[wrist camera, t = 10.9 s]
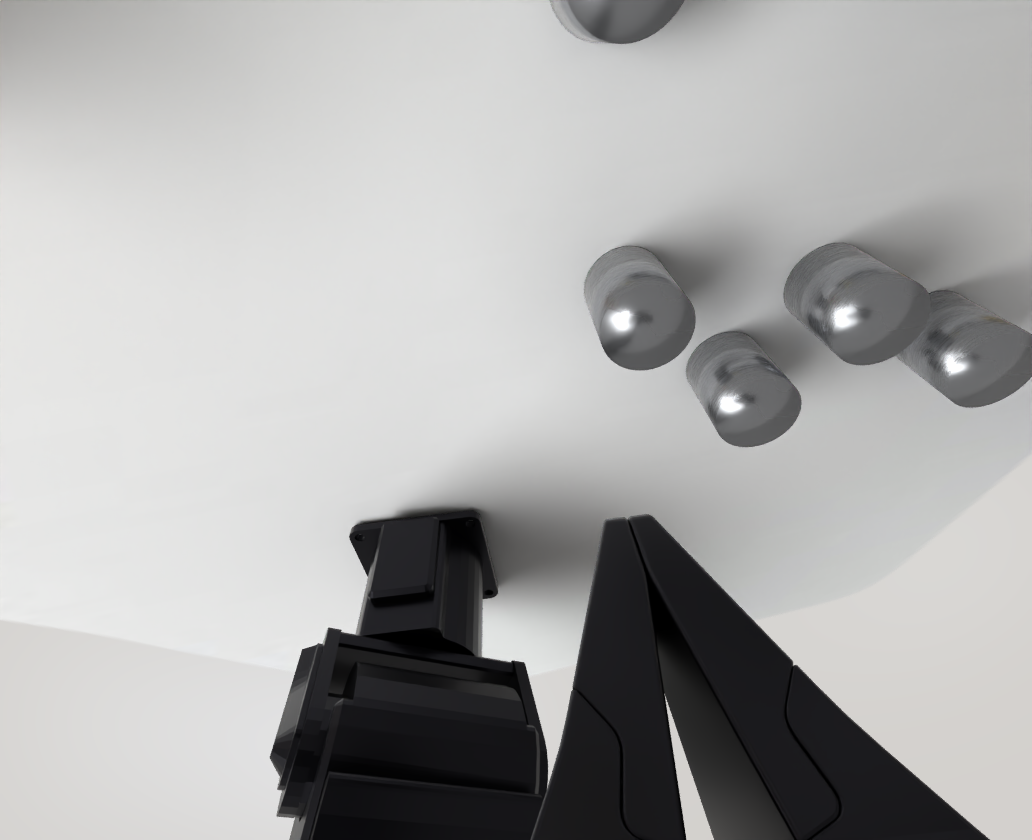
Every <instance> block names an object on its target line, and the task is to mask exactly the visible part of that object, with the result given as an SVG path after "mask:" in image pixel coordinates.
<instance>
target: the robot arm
mask: <svg viewBox="0 0 1032 840" xmlns="http://www.w3.org/2000/svg"><path fill="white" fill-rule="evenodd" d="M469 520H473V521H469ZM359 534H361V535H359ZM349 537H350V541H351V543H352V545H353V547H354V549H355V551H356V553H357V555H358V557H359V559H360V562H361V564H362V566H363V568H364V570H365V572H366V574H367V576H368V580H367V585H366V589H365V594H364V599H363V603H362V608H361V612H360V617H359V621H358V626H357V630H356V635H354V634H349V633H343V632H341V630H340V629H334V628H328V630H327V633H326V636H325V639H324V642H323V644H319V643H318V644H317V645H315V646H312V647H309V648H305V649H302V652H301V655H300V659H299V662H298V665H297V669H296V672H295V675H294V679H293V682H292V686H291V689H290V692H289V695H288V698H287V702H286V705H285V708H284V712H283V715H282V718H281V722H280V725H279V729H278V732H277V735H276V739H275V742H274V745H273V749H272V752H271V756H270V759H271V761H272V763H273V765H274V767H275V769H276V771H277V772H278V774H279V776H280V780H279V784H278V788H277V789H278V790H282V793H281V797H280V802H279V806H278V811H277V816H278V817H289V818H294V817H295V820H294V824H293V828H292V832H291V836H290V840H686V834H685V828H684V821H683V814H682V808H681V801H680V794H679V788H678V781H677V774H676V768H675V761H674V754H673V748H672V741H671V735H670V728H669V721H668V714H667V708H666V701H665V696H666V699H667V702H668V705H669V707H670V711H671V713H672V717H673V719H674V722H675V725H676V728H677V731H678V734H679V737H680V740H681V743H682V746H683V749H684V752H685V755H686V758H687V761H688V764H689V767H690V770H691V773H692V776H693V778H694V781H695V784H696V787H697V790H698V793H699V796H700V799H701V802H702V805H703V808H704V811H705V814H706V817H707V820H708V823H709V826H710V829H711V832H712V835H713V837H714V840H990V839H988V838H987V837H986V836H985V835H984V834H982V833H981V832H980V831H979V830H978V829H976V828H975V827H974V826H973V825H972V824H971V823H970V822H968V821H967V820H966V819H965V818H964V817H963V816H961V815H960V814H959V813H958V812H957V811H956V810H954V809H953V808H952V807H951V806H950V805H949V804H948V803H946V802H945V801H944V800H943V799H942V798H941V797H939V796H938V795H937V794H936V793H935V792H934V791H933V790H931V789H930V788H929V787H928V786H927V785H926V784H925V783H923V782H922V781H921V780H920V779H919V778H918V777H916V776H915V775H914V774H913V773H912V772H911V771H909V770H908V769H907V768H906V767H905V766H904V765H903V764H901V763H900V762H899V761H898V760H897V759H896V758H894V757H893V756H892V755H891V754H890V753H888V752H887V751H886V750H885V749H884V748H883V747H881V745H879V744H878V743H877V742H876V741H875V740H874V739H873V738H872V737H870V735H868V734H867V733H866V732H865V731H864V730H863V729H862V728H861V727H860V726H858V725H857V724H856V723H855V722H854V721H853V720H852V719H851V718H849V717H848V716H847V715H846V714H845V713H844V712H843V711H842V710H841V709H840V708H839V707H838V706H837V705H836V704H835V703H834V702H833V701H832V700H831V699H830V698H829V697H828V696H827V695H826V694H825V693H824V692H823V691H822V690H821V689H820V688H819V687H818V686H817V685H816V684H815V683H814V682H813V681H812V680H811V679H810V678H809V677H808V676H807V675H806V674H805V673H804V672H803V671H802V670H801V669H800V668H799V667H798V666H797V665H794V666H793V661H792V660H791V659H790V658H789V657H788V656H787V655H786V653H785V652H783V651H782V650H781V648H780V647H779V646H778V645H777V644H776V643H775V642H774V641H773V640H772V639H771V638H770V637H769V636H768V635H767V634H766V633H765V632H764V631H763V630H762V629H761V628H760V627H759V626H758V625H757V624H756V623H755V622H754V620H753V619H752V618H751V617H750V616H749V615H748V614H747V613H746V612H745V611H744V610H743V609H742V608H741V607H740V606H739V605H738V604H737V603H736V602H735V601H734V600H733V599H732V598H731V597H730V596H729V595H728V594H727V593H726V592H725V591H724V590H723V589H722V588H721V586H720V585H719V584H718V583H717V582H716V581H715V580H714V579H713V578H712V577H711V576H710V575H709V574H708V573H707V572H706V571H705V570H704V569H703V568H702V567H701V566H700V565H699V564H698V563H697V562H696V561H695V560H694V559H693V558H692V557H691V556H690V555H689V554H688V552H687V551H686V550H685V549H684V548H683V547H682V546H681V545H680V544H679V543H678V542H677V541H676V540H675V539H674V538H673V537H672V536H671V535H670V534H669V533H668V532H667V531H666V530H665V529H664V528H663V527H662V526H661V525H660V524H659V523H658V522H657V521H656V520H655V518H653V517H652V516H651V515H649V514H645V515H637V516H631V517H629V518H628V520H627V519H626V518H624V517H621V518H613V519H607V520H605V521H604V524H603V529H602V534H601V540H600V545H599V550H598V555H597V561H596V566H595V571H594V576H593V582H592V587H591V592H590V597H589V603H588V608H587V613H586V618H585V624H584V629H583V634H582V640H581V645H580V650H579V655H578V661H577V666H576V671H575V676H574V682H573V690H572V691H571V696H570V702H569V707H568V712H567V717H566V721H565V726H564V730H563V735H562V739H561V743H560V747H559V751H558V754H557V758H556V761H555V764H554V768H553V771H552V775H551V778H550V782H549V785H548V788H547V782H548V759H547V749H546V744H545V739H544V736H543V732H542V728H541V724H540V720H539V716H538V713H537V709H536V705H535V701H534V697H533V694H532V689H531V685H530V682H529V678H528V674H527V670H526V666H525V663H524V662H519V661H511V662H507V661H501V660H495V659H490V658H484V657H482V610H483V599H487V598H493V597H495V596H496V595H497V594H498V584H497V580H496V576H495V572H494V568H493V564H492V560H491V556H490V552H489V548H488V544H487V540H486V536H485V532H484V528H483V524H482V520H481V516H480V514H479V513H477V512H475V511H463V512H455V513H447V514H439V515H431V516H423V517H416V518H408V519H400V520H392V521H384V522H376V523H368V524H361V525H356V526H354V527H352V529H351V532H350V536H349ZM664 693H665V695H664Z"/></svg>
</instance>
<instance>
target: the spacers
mask: <svg viewBox="0 0 1032 840" xmlns="http://www.w3.org/2000/svg"><path fill="white" fill-rule="evenodd" d="M683 2H684V0H550V3H551V6H552V8H553V11H554V13H555V15H556V17H557V18H558V20H559V21H560V23H561V24H562V25H563V26H564V27H565V29H566V30H568V31H569V32H570V33H571V34H573V35H574V36H576V37H577V38H580V39H582V40H585V41H589V42H599V43H617V44H626V43H633V42H637V41H640V40H643V39H645V38H648V37H649V36H651V35H653V34H655V33H656V32H657V31H659V30H660V29H661V28H663V27H664V26H665V25H666V24H667V23H668V22H669V21H670V20H671V19H672V17H673V16H674V15H675V14H676V13H677V11H678V10H679V8H680V7H681V5H682V4H683ZM584 296H585V301H586V304H587V306H588V309H589V312H590V315H591V317H592V320H593V323H594V325H595V328H596V331H597V333H598V336H599V339H600V341H601V344H602V347H603V349H604V351H605V353H606V354H607V356H608V357H609V358H610V359H611V360H612V361H613V362H614V363H616V364H618V365H619V366H621V367H624V368H627V369H631V370H649V369H654V368H657V367H660V366H662V365H665V364H666V363H668V362H670V361H671V360H673V359H674V358H676V357H677V356H678V355H679V354H680V353H681V352H682V351H683V350H684V349H685V347H686V346H687V345H688V343H689V341H690V339H691V337H692V335H693V332H694V328H695V312H694V308H693V306H692V304H691V302H690V300H689V299H688V297H687V296H686V295H685V294H684V292H683V291H682V290H681V288H680V287H679V286H678V284H677V283H676V282H675V280H674V279H673V278H672V277H671V275H670V274H669V273H668V271H667V270H666V269H665V267H664V266H663V265H662V264H661V262H660V261H659V260H658V258H657V257H656V256H655V255H654V254H652V253H651V252H650V251H648V250H646V249H643V248H640V247H635V246H626V247H620V248H616V249H614V250H611V251H609V252H607V253H606V254H604V255H603V256H602V257H600V258H599V259H598V260H597V261H596V262H595V263H594V264H593V266H592V267H591V269H590V270H589V272H588V274H587V277H586V280H585V285H584ZM784 302H785V305H786V307H787V309H788V310H789V311H790V313H791V314H792V315H794V316H795V317H796V318H797V319H798V320H799V321H800V322H801V323H802V324H803V325H804V326H806V327H807V328H808V329H809V330H810V331H811V332H812V333H813V334H814V335H815V336H817V337H818V338H819V339H820V340H821V341H822V342H823V343H824V344H825V345H826V346H828V347H829V348H830V349H831V350H832V351H833V352H834V353H835V354H836V355H837V356H838V357H840V358H841V359H842V360H843V361H845V362H847V363H850V364H854V365H870V364H875V363H879V362H882V361H885V360H887V359H889V358H891V357H893V356H895V357H896V358H898V359H899V360H900V361H901V362H903V363H904V364H905V365H906V366H908V367H909V368H910V369H912V370H913V371H914V372H915V373H917V374H918V375H919V376H920V377H922V378H923V379H924V380H926V381H927V382H928V383H929V384H931V385H932V386H933V387H934V388H936V389H937V390H938V391H940V392H941V393H942V394H943V395H945V396H946V397H947V398H948V399H950V400H951V401H952V402H954V403H955V404H957V405H959V406H962V407H971V408H973V407H981V406H985V405H989V404H992V403H995V402H997V401H1000V400H1002V399H1004V398H1006V397H1007V396H1009V395H1011V394H1012V393H1014V392H1015V391H1017V390H1018V389H1019V388H1020V387H1022V386H1023V385H1024V384H1025V383H1026V382H1027V381H1028V380H1029V379H1030V378H1031V377H1032V334H1030V333H1028V332H1027V331H1025V330H1023V329H1021V328H1019V327H1017V326H1016V325H1014V324H1012V323H1010V322H1008V321H1007V320H1005V319H1003V318H1001V317H999V316H997V315H996V314H994V313H992V312H990V311H988V310H986V309H985V308H983V307H981V306H979V305H977V304H975V303H974V302H972V301H970V300H968V299H966V298H965V297H963V296H961V295H959V294H957V293H955V292H951V291H938V292H933V293H930V294H929V293H928V292H927V290H926V289H925V288H924V287H923V286H922V285H920V284H919V283H917V282H915V281H914V280H912V279H910V278H908V277H907V276H905V275H903V274H901V273H900V272H898V271H896V270H894V269H893V268H891V267H889V266H887V265H886V264H884V263H882V262H880V261H879V260H877V259H875V258H873V257H872V256H870V255H868V254H867V253H865V252H863V251H861V250H860V249H858V248H856V247H854V246H852V245H849V244H845V243H834V244H829V245H826V246H822V247H820V248H818V249H816V250H814V251H812V252H811V253H809V254H808V255H806V256H805V257H804V258H803V259H802V260H801V261H800V262H799V263H798V264H797V265H796V266H795V267H794V269H793V270H792V272H791V273H790V275H789V277H788V279H787V281H786V284H785V288H784ZM686 375H687V379H688V382H689V384H690V385H691V387H692V389H693V391H694V392H695V394H696V396H697V398H698V399H699V401H700V403H701V404H702V406H703V408H704V410H705V411H706V413H707V415H708V416H709V418H710V420H711V422H712V423H713V425H714V427H715V428H716V430H717V432H718V434H719V435H720V437H721V438H722V439H723V440H724V441H726V442H727V443H729V444H732V445H735V446H739V447H753V446H759V445H762V444H765V443H768V442H770V441H772V440H774V439H776V438H778V437H779V436H781V435H782V434H784V433H785V432H786V431H787V430H788V429H789V428H790V427H791V426H792V425H793V423H794V422H795V421H796V419H797V417H798V415H799V413H800V409H801V396H800V394H799V392H798V390H797V389H796V387H795V386H794V385H793V384H792V383H791V382H790V381H789V379H788V378H787V377H786V376H785V375H784V374H783V373H782V371H781V370H780V369H779V368H778V367H777V366H776V365H775V363H774V362H773V361H772V360H771V359H770V358H769V357H768V355H767V354H766V353H765V352H764V351H763V350H762V349H761V347H760V346H759V345H758V344H757V343H756V342H755V341H754V340H753V339H752V338H751V337H750V336H748V335H746V334H743V333H739V332H726V333H721V334H718V335H715V336H713V337H711V338H709V339H707V340H706V341H704V342H703V343H702V344H700V345H699V346H698V347H697V348H696V349H695V351H694V352H693V353H692V355H691V356H690V358H689V361H688V364H687V368H686Z"/></svg>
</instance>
